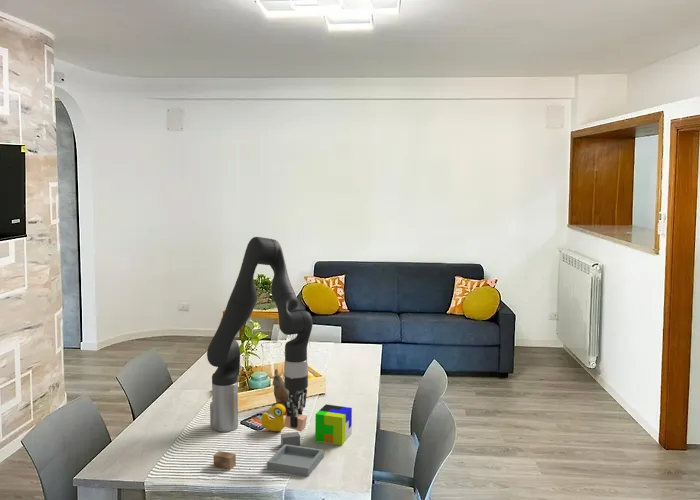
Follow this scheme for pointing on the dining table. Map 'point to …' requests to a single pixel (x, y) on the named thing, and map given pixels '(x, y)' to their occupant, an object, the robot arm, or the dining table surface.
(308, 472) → the slate tray
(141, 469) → the dining table surface
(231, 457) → the walnut brick
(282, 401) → the worn brown figurine
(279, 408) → the duckling
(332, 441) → the puzzle toy
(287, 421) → the terracotta brick
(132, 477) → the dining table surface
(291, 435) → the charcoal brick
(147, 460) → the dining table surface
